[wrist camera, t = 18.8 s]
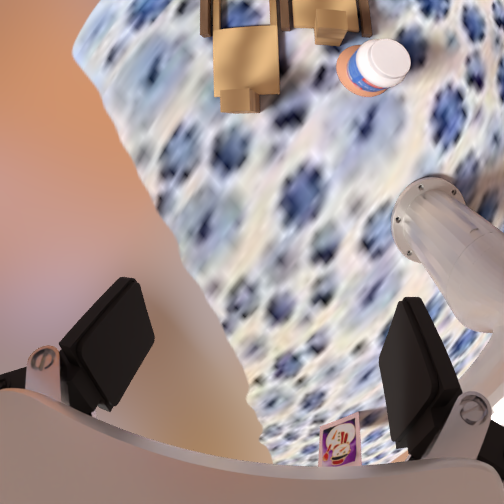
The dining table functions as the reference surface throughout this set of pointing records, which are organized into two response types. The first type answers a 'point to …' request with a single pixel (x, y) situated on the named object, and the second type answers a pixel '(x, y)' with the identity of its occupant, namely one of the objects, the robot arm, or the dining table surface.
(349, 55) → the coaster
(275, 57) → the slat bottle lane
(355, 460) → the greeting card
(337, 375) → the dining table surface
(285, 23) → the lane rails
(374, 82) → the pill bottle
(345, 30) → the tan wooden block
